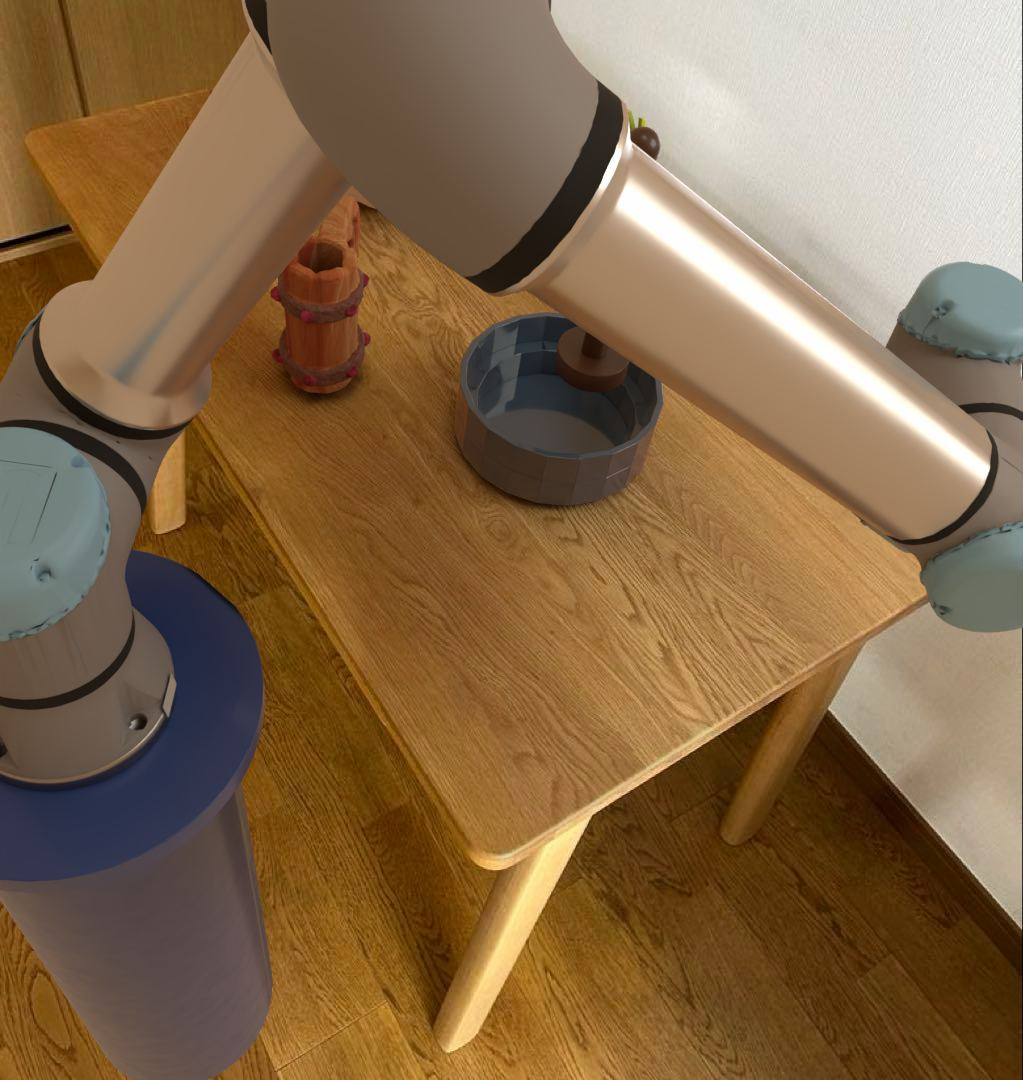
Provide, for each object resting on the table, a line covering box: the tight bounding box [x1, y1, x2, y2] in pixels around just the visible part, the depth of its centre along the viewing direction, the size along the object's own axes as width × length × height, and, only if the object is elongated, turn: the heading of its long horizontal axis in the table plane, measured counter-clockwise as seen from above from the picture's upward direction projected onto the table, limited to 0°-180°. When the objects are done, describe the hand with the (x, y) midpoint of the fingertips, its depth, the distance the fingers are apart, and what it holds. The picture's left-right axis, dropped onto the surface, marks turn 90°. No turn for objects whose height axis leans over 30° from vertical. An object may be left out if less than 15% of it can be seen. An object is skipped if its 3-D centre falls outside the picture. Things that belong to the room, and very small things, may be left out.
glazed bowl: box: [453, 311, 665, 507], centre depth 102 cm, size 18×18×7 cm
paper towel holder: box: [555, 126, 662, 392], centre depth 90 cm, size 6×6×23 cm
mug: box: [270, 194, 372, 395], centre depth 102 cm, size 15×8×15 cm, turn 170°
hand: (573, 209), depth 91 cm, fingers closed on paper towel holder, 2 cm apart
